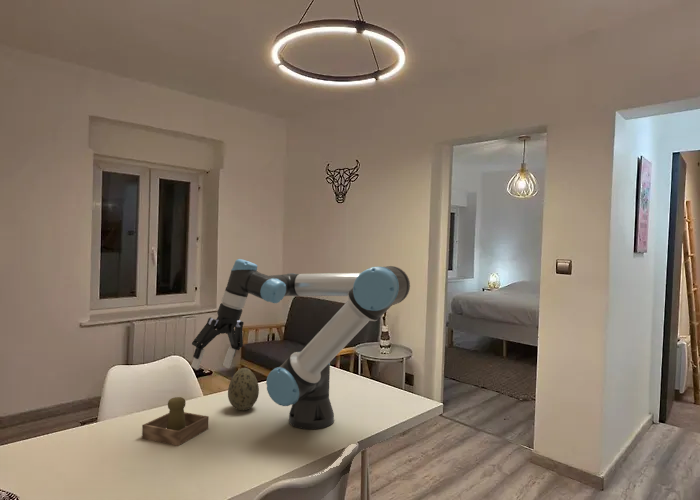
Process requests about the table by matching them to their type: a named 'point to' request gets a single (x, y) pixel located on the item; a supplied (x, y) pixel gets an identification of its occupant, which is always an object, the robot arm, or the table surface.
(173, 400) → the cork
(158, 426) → the walnut box
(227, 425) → the table surface
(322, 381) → the robot arm
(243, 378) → the decorative egg
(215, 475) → the table surface
